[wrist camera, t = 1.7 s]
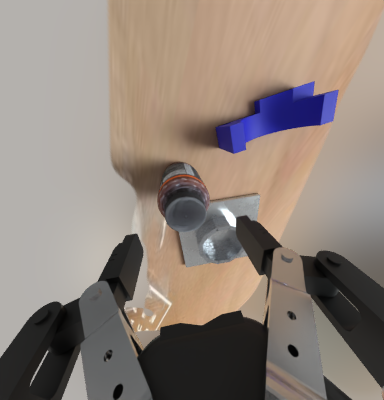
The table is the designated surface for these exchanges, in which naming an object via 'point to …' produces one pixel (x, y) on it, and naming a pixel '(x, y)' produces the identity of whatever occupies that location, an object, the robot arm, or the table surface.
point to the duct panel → (219, 231)
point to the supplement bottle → (183, 198)
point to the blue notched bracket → (279, 116)
